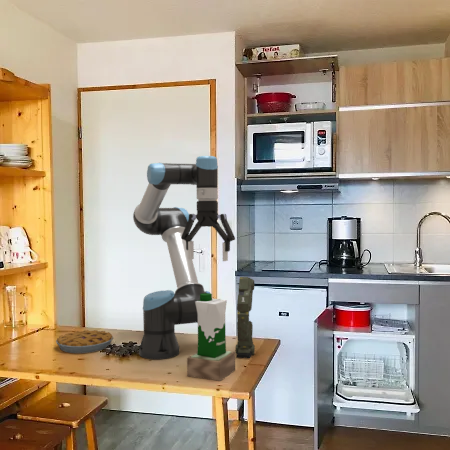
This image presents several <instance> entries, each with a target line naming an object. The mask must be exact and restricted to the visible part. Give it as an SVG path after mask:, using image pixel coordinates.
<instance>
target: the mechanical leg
mask: <svg viewBox="0 0 450 450" xmlns="http://www.w3.org/2000/svg"><path fill="white" fill-rule="evenodd" d="M254 290H255V280H254V279H253V278H251V277H249V276H240V277H239V281H238V294H237V301H236V311H237V313H236V316H237V321H236V324H237V325H236V331H237V344H235V349H234V350H235V359H250V358H251V357H252V356H253V355H255V352H256V351H255V349H256V348H255V347H256V346H255V344H254V340H253V322H252V321H251V320H250V312H251V310H253V309H252V307H253V294H254V293H253V292H254Z"/></svg>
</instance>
